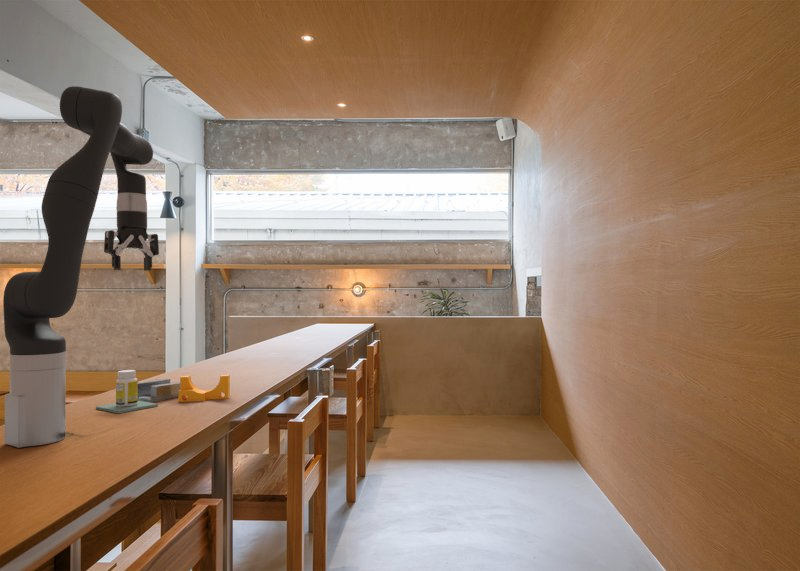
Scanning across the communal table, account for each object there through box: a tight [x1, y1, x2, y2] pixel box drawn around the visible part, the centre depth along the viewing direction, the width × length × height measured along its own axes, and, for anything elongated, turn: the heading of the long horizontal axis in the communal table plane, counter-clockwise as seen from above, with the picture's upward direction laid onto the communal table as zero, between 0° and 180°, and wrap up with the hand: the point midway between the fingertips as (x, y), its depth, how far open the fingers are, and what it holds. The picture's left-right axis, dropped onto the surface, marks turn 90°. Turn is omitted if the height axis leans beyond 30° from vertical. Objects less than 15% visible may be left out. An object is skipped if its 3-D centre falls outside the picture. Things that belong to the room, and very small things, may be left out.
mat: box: [95, 401, 159, 414], centre depth 136 cm, size 10×10×1 cm
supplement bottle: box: [115, 369, 138, 407], centre depth 136 cm, size 5×5×8 cm
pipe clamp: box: [177, 374, 231, 403], centre depth 145 cm, size 12×4×6 cm, turn 98°
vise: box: [137, 378, 180, 403], centre depth 152 cm, size 14×18×4 cm
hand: (132, 270), depth 152 cm, fingers open, 8 cm apart
